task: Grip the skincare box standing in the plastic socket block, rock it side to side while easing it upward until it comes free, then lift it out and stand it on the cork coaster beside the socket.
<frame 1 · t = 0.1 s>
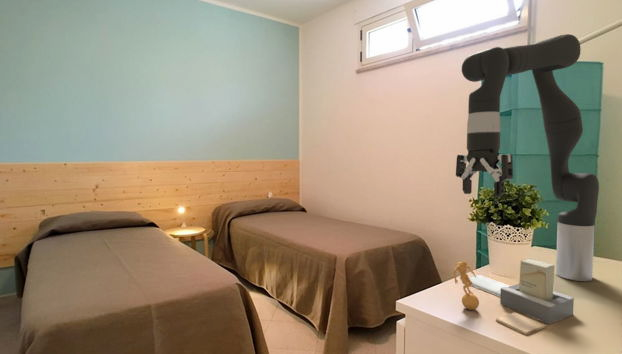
hand: (482, 195, 86), 29 cm above the table, tool pointing down, fingers open, 8 cm apart
hard drive: (489, 289, 100), on the table
socket block: (535, 308, 85), on the table
skincare box: (535, 309, 85), resting in socket block
figurine: (466, 308, 87), on the table
cork coaster: (520, 324, 78), on the table
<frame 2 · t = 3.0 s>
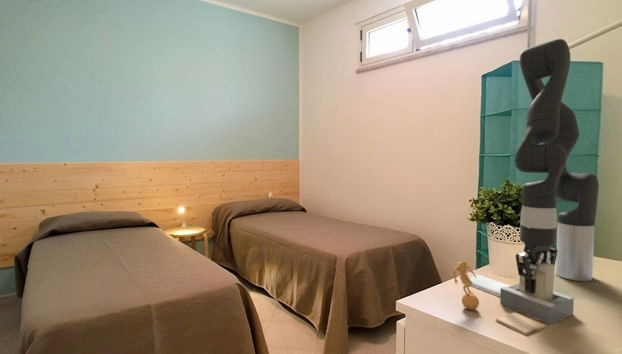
hand: (535, 290, 85), 5 cm above the table, tool pointing down, fingers closed on skincare box, 4 cm apart
skincare box: (535, 309, 85), resting in socket block, touching gripper
everything else where it was.
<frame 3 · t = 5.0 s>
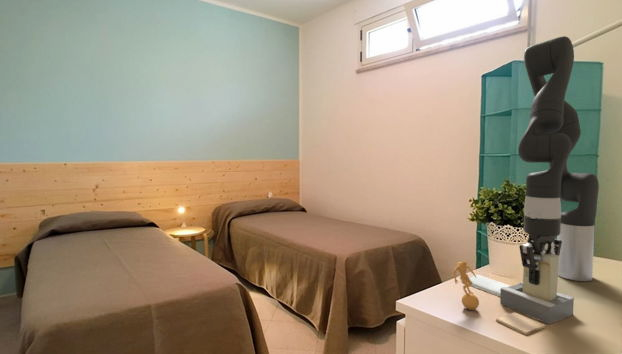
hand: (539, 281, 84), 7 cm above the table, tool pointing down, fingers closed on skincare box, 4 cm apart
skincare box: (539, 301, 84), point 2 cm above the table, touching gripper
everything else where it was.
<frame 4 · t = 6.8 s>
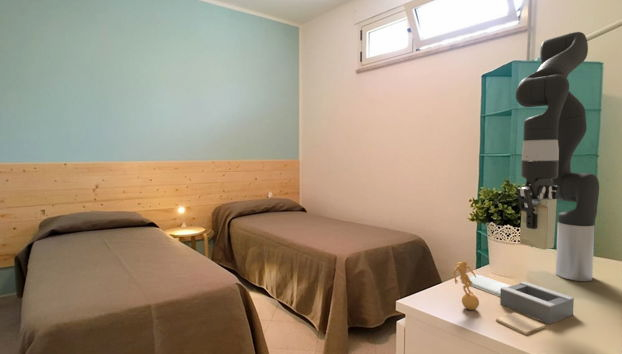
hand: (537, 226, 84), 21 cm above the table, tool pointing down, fingers closed on skincare box, 4 cm apart
skincare box: (537, 246, 84), point 16 cm above the table, touching gripper
everything else where it was.
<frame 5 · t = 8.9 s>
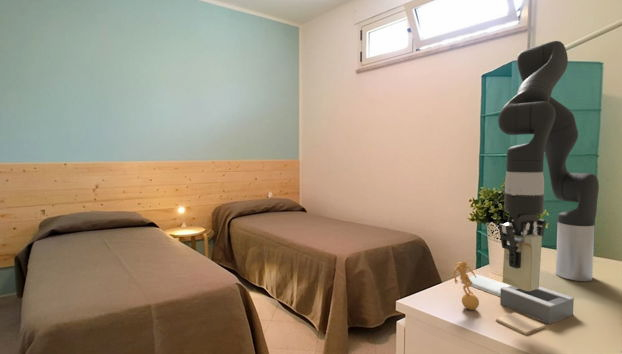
hand: (521, 265, 77), 14 cm above the table, tool pointing down, fingers closed on skincare box, 4 cm apart
skincare box: (520, 286, 77), point 9 cm above the table, touching gripper
everything else where it was.
when the fingers open (6 cm above the table, at t = 10.8 s): skincare box stays where it is, resting on cork coaster.
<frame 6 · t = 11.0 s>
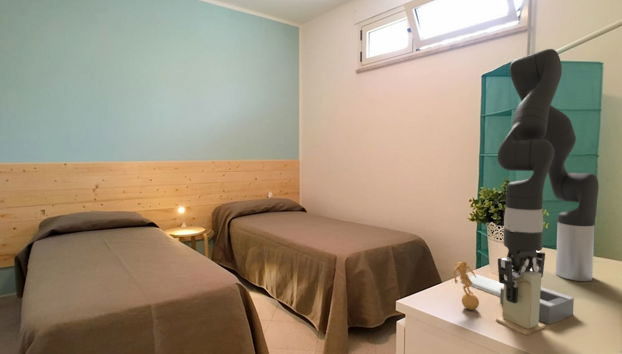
hand: (520, 298, 77), 6 cm above the table, tool pointing down, fingers open, 6 cm apart
skincare box: (520, 322, 78), resting on cork coaster
everything else where it was.
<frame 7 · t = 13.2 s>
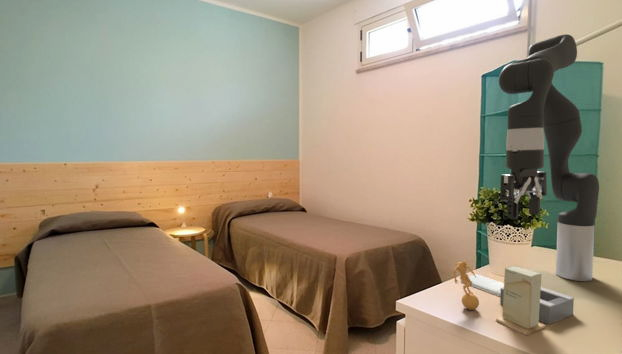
hand: (523, 216, 80), 25 cm above the table, tool pointing down, fingers open, 8 cm apart
nothing on the table moved.
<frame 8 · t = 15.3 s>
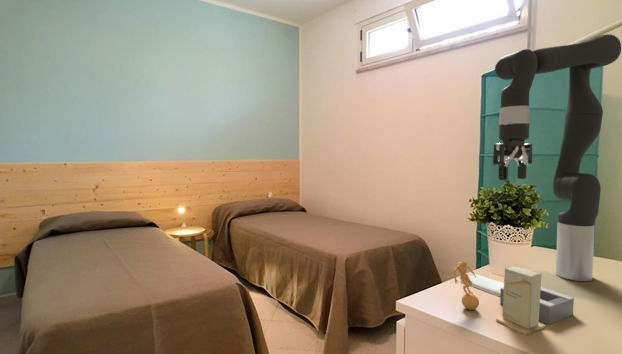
hand: (512, 179, 97), 32 cm above the table, tool pointing down, fingers open, 8 cm apart
nothing on the table moved.
at the end: skincare box inside the target area on the cork coaster (0.2 cm from its centre), point 0.4 cm above the cork coaster's base; skincare box touching cork coaster; the gripper is holding nothing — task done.
